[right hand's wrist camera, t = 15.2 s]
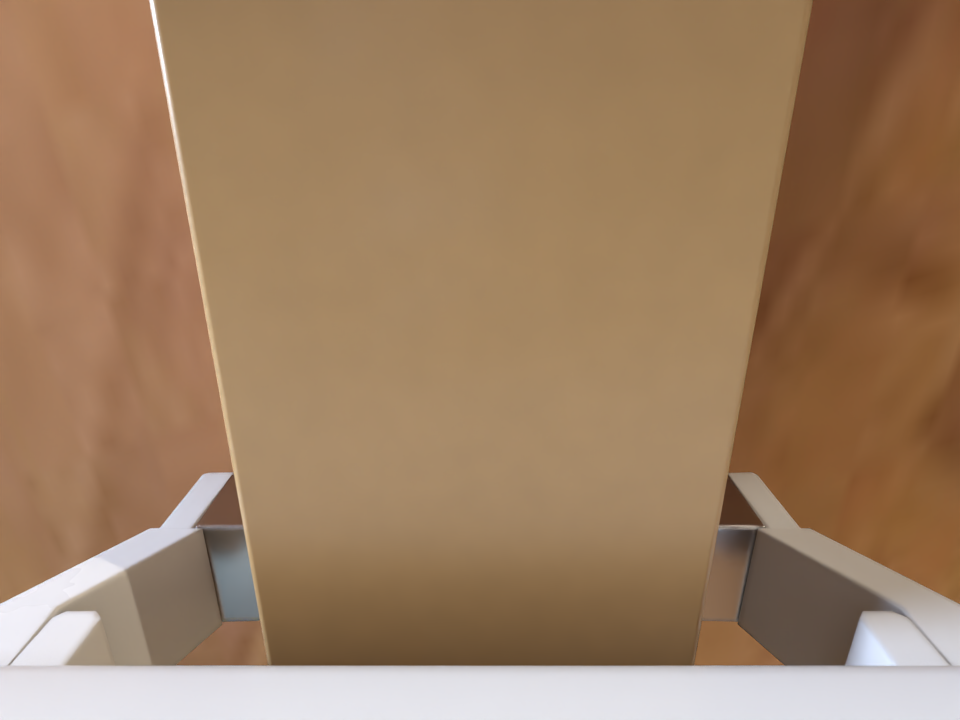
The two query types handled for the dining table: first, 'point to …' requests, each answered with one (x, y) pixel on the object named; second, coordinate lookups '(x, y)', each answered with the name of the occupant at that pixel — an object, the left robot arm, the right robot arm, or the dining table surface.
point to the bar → (481, 308)
